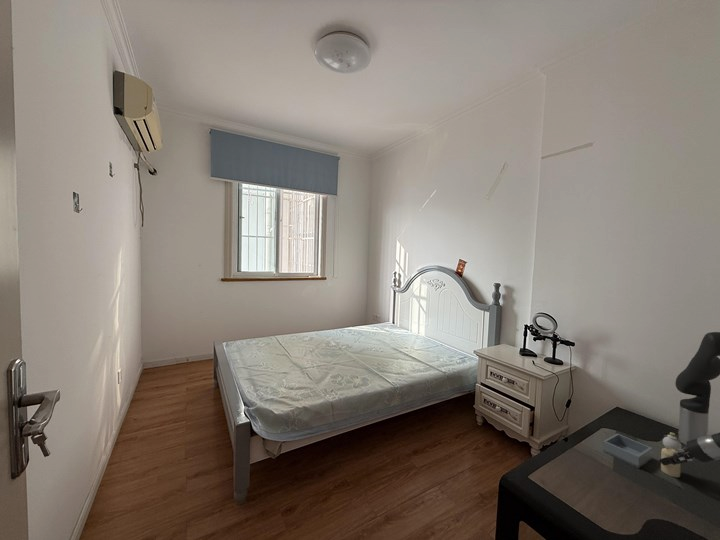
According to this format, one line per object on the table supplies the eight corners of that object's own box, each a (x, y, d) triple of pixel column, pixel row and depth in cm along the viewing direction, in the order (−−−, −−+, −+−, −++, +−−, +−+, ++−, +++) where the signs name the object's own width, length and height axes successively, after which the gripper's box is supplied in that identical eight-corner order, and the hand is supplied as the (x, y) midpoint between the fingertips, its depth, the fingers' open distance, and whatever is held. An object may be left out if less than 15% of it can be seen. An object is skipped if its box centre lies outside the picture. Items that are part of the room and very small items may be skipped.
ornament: (664, 444, 141) (664, 424, 141) (686, 452, 135) (687, 431, 135) (661, 449, 138) (661, 428, 137) (684, 457, 131) (685, 435, 131)
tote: (617, 443, 141) (617, 433, 141) (652, 459, 130) (652, 448, 130) (602, 451, 135) (603, 440, 135) (638, 468, 124) (638, 457, 124)
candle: (684, 478, 118) (684, 454, 118) (668, 476, 120) (668, 452, 119) (672, 469, 124) (673, 446, 124) (657, 467, 125) (657, 444, 125)
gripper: (704, 433, 118) (662, 445, 129) (691, 442, 111) (649, 455, 122) (724, 453, 113) (679, 465, 124) (712, 465, 107) (666, 476, 118)
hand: (664, 460), depth 123 cm, fingers closed on candle, 5 cm apart
